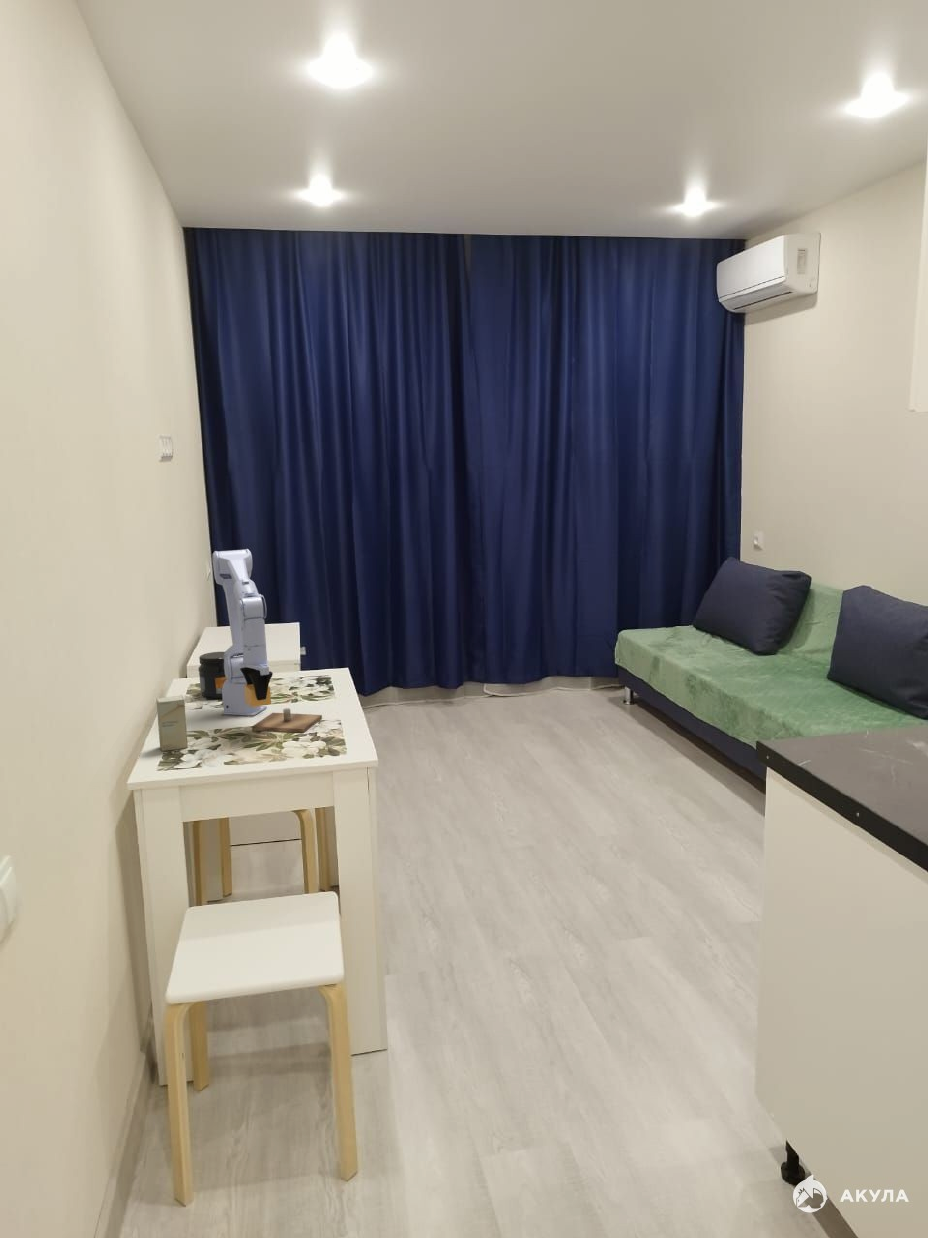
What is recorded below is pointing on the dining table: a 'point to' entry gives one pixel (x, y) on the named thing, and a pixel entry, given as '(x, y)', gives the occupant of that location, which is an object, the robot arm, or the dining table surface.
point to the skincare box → (172, 723)
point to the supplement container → (212, 675)
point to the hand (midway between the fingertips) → (258, 697)
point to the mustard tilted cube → (251, 696)
